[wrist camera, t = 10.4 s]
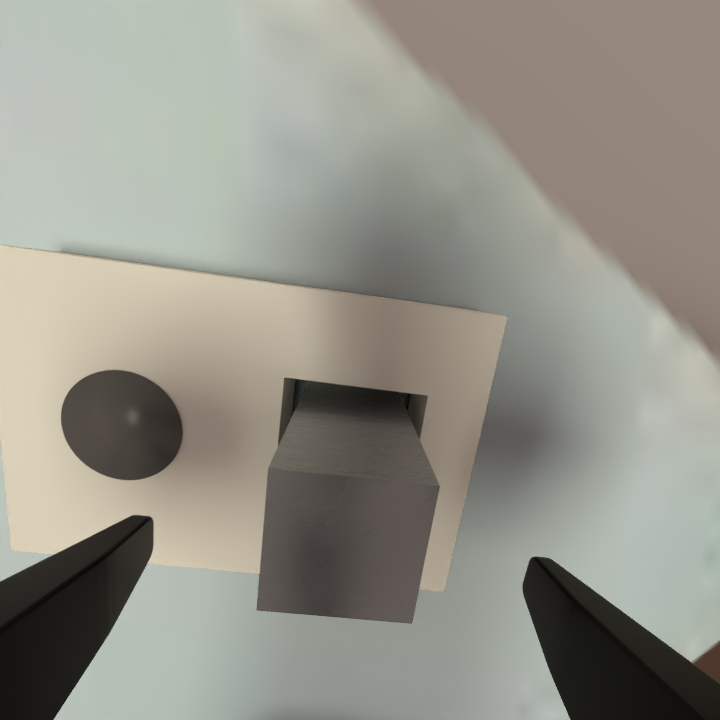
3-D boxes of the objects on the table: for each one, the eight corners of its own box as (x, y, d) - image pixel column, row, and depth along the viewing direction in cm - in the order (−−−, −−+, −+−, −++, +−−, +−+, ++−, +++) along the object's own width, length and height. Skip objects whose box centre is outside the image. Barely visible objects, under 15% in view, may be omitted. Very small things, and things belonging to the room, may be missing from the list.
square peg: (383, 463, 16) (412, 623, 9) (302, 454, 16) (256, 610, 8) (396, 386, 16) (440, 486, 8) (310, 376, 15) (268, 467, 8)
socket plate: (428, 540, 17) (444, 593, 14) (71, 503, 17) (9, 551, 14) (477, 310, 15) (508, 316, 12) (59, 251, 14) (-21, 242, 11)
